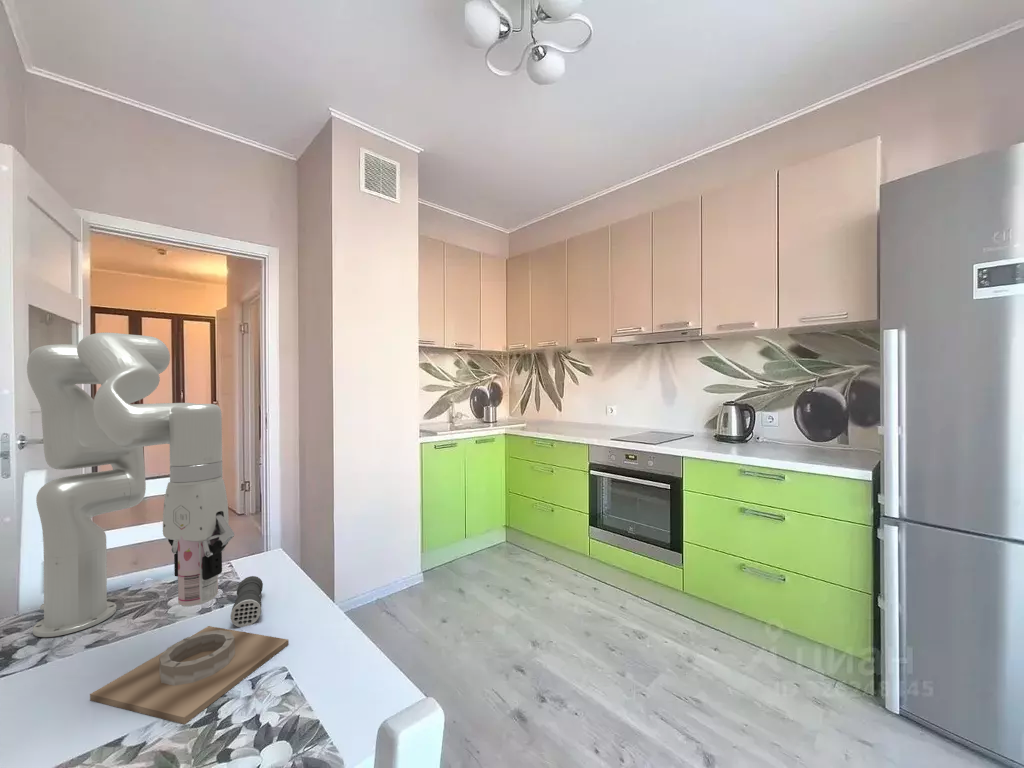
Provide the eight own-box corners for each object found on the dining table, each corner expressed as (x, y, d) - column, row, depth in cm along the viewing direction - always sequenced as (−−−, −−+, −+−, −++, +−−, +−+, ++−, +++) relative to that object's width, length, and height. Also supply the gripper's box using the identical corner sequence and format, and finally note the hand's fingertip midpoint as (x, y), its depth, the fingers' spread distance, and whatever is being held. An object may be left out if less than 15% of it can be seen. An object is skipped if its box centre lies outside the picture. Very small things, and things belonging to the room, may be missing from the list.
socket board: (90, 700, 68) (89, 675, 68) (208, 630, 87) (208, 611, 87) (184, 724, 63) (184, 697, 63) (288, 644, 82) (288, 624, 82)
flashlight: (237, 598, 101) (237, 576, 101) (263, 593, 104) (263, 571, 104) (230, 630, 88) (230, 604, 88) (261, 623, 90) (260, 597, 90)
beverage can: (210, 588, 79) (209, 508, 79) (223, 597, 76) (222, 513, 76) (173, 601, 74) (172, 516, 75) (185, 610, 71) (183, 521, 71)
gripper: (138, 475, 74) (139, 579, 74) (214, 479, 69) (216, 589, 69) (181, 467, 81) (183, 562, 81) (253, 470, 77) (255, 570, 76)
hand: (198, 573), depth 75 cm, fingers closed on beverage can, 5 cm apart
